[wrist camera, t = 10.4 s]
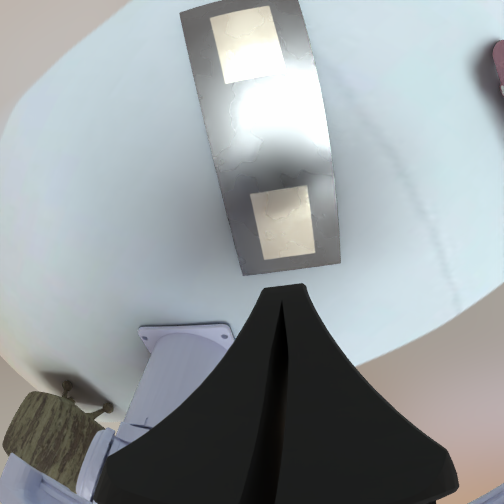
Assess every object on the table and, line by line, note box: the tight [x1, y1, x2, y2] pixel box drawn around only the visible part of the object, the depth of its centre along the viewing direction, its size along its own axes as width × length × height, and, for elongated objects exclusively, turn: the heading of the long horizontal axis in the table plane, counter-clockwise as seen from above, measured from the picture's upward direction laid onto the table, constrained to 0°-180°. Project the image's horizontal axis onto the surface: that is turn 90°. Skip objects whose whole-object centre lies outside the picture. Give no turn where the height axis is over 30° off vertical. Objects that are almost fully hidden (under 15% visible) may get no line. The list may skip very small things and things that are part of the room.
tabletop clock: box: [3, 381, 113, 494], centre depth 20 cm, size 14×9×25 cm, turn 112°
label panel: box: [179, 0, 341, 276], centre depth 13 cm, size 16×6×1 cm, turn 12°
